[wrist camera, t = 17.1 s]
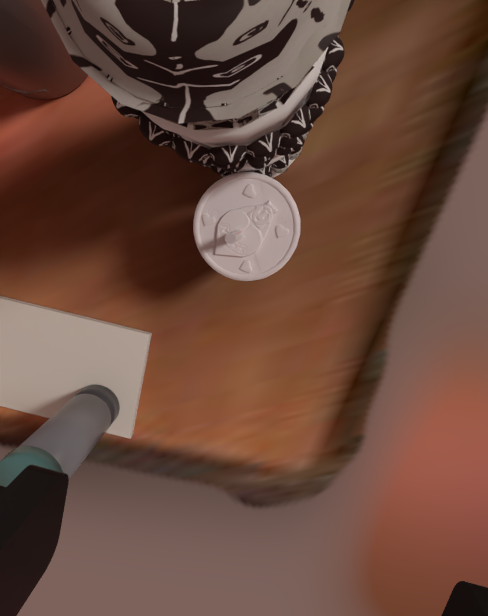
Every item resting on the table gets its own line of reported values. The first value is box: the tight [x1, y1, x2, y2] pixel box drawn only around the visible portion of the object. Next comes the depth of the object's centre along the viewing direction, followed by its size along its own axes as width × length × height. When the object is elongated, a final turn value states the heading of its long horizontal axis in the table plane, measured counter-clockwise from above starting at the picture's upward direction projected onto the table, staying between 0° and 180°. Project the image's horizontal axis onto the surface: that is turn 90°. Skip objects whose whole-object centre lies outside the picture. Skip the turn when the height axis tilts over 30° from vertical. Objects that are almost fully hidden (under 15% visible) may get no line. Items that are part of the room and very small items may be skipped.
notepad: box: [0, 296, 152, 439], centre depth 38 cm, size 10×15×1 cm, turn 77°
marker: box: [0, 384, 120, 487], centre depth 33 cm, size 4×4×12 cm
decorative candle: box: [41, 0, 354, 178], centre depth 21 cm, size 9×9×25 cm
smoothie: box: [193, 172, 300, 281], centre depth 28 cm, size 6×6×14 cm
